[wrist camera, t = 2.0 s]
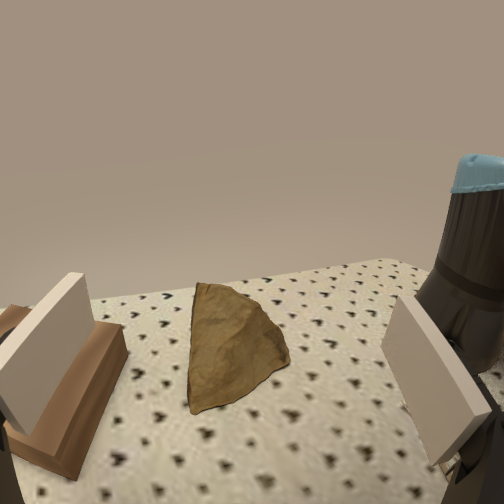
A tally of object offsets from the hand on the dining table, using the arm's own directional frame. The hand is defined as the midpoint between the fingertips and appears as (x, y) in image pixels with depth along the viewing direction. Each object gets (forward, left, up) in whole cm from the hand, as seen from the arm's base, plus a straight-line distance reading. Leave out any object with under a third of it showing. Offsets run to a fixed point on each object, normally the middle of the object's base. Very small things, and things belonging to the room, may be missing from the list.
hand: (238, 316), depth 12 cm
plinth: (+19, -4, -14) cm, 24 cm away
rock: (0, -10, -15) cm, 18 cm away
